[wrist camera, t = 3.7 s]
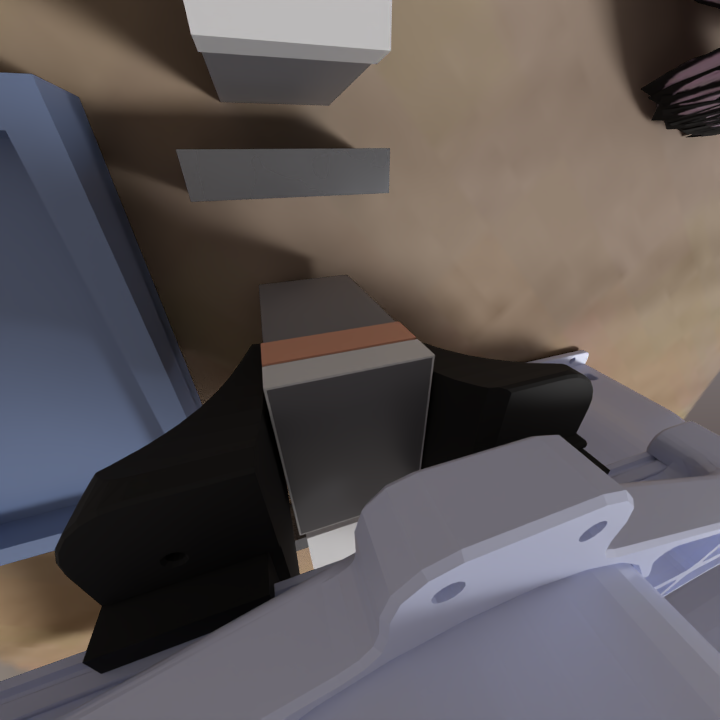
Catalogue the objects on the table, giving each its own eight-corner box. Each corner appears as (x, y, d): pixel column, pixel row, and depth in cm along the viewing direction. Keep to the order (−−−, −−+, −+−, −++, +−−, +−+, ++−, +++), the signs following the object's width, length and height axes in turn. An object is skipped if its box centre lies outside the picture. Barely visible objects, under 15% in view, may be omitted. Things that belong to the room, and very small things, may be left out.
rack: (358, -219, 7) (400, -376, 5) (369, 490, 22) (381, 522, 20) (65, -311, 6) (-37, -584, 4) (288, 515, 21) (292, 552, 19)
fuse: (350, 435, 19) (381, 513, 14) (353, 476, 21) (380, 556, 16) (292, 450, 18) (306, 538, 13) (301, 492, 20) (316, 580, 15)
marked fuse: (348, 273, 12) (434, 354, 6) (353, 375, 15) (417, 497, 9) (257, 283, 11) (263, 388, 5) (279, 390, 14) (299, 536, 8)
